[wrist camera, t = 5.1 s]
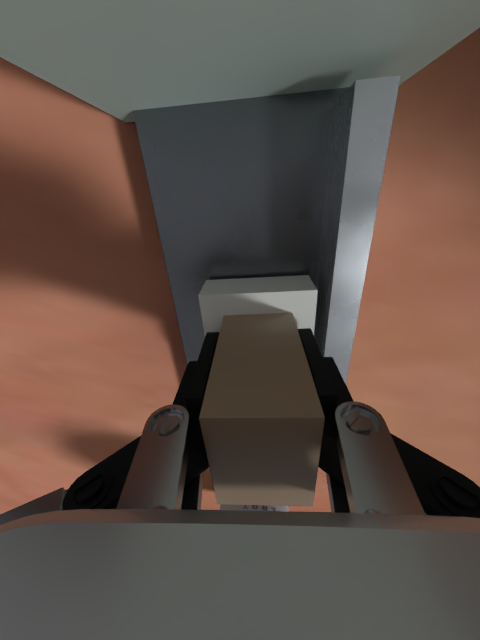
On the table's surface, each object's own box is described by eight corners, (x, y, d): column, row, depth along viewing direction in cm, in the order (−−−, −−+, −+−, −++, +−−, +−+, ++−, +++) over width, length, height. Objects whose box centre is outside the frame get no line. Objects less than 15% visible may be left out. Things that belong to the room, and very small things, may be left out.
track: (359, 98, 10) (417, 48, 6) (320, 418, 19) (335, 470, 15) (147, 120, 11) (95, 86, 7) (206, 418, 20) (195, 468, 16)
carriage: (308, 274, 12) (377, 384, 5) (302, 371, 15) (341, 522, 8) (206, 280, 12) (149, 387, 6) (219, 373, 15) (191, 519, 8)
